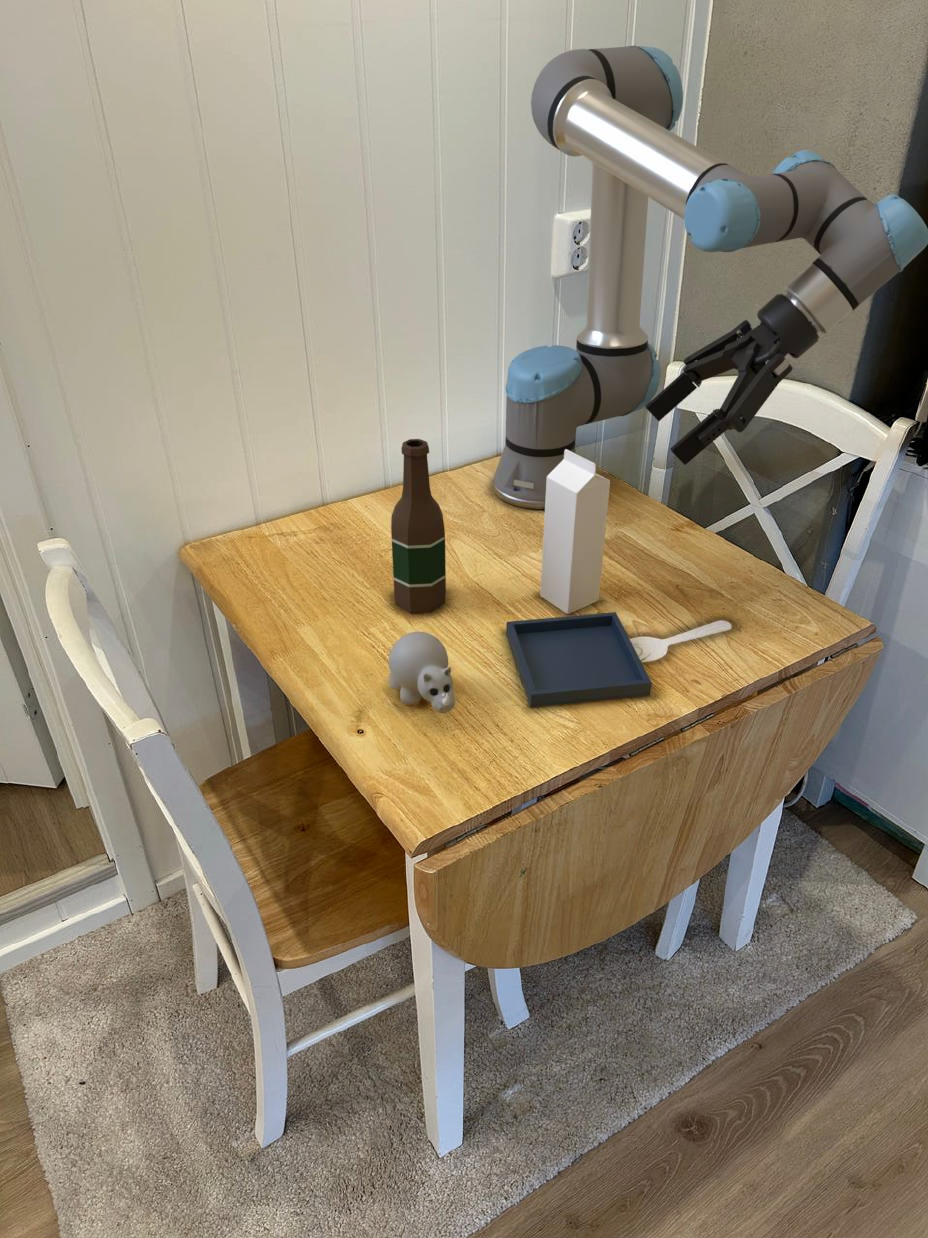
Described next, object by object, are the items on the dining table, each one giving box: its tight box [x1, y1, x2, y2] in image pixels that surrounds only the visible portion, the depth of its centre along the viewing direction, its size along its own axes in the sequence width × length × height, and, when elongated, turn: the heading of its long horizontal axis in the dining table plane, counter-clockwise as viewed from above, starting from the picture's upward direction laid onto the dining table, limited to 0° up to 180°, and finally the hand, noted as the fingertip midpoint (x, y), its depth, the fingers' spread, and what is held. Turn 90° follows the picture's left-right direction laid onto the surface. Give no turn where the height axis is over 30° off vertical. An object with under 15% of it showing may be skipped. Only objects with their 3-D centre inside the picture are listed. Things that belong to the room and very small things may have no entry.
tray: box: [505, 611, 653, 709], centre depth 123 cm, size 16×15×2 cm
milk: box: [539, 449, 611, 615], centre depth 130 cm, size 6×6×22 cm
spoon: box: [629, 619, 733, 663], centre depth 128 cm, size 5×18×1 cm, turn 115°
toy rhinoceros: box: [388, 631, 456, 714], centre depth 114 cm, size 7×12×8 cm, turn 25°
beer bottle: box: [390, 438, 447, 614], centre depth 129 cm, size 8×8×24 cm
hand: (663, 434), depth 122 cm, fingers open, 13 cm apart
